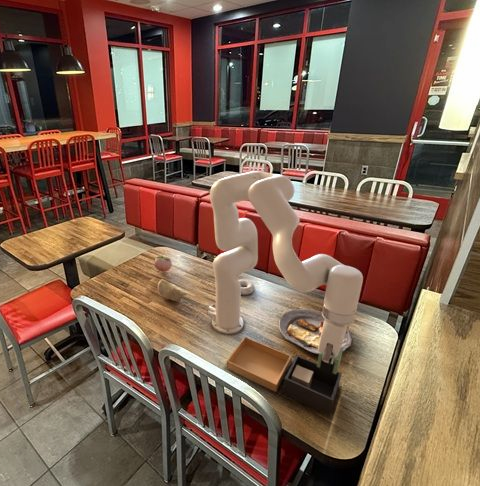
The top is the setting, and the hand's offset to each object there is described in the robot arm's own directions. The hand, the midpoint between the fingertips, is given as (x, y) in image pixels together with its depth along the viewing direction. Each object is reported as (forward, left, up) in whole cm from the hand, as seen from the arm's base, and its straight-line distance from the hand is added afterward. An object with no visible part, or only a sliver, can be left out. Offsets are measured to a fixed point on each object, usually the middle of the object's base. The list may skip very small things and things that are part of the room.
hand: (328, 364), depth 87 cm
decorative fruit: (-87, +33, -13) cm, 94 cm away
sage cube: (0, 0, 0) cm, 0 cm away
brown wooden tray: (-20, +1, -13) cm, 24 cm away
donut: (-44, +39, -13) cm, 60 cm away
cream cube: (-6, 0, -13) cm, 14 cm away
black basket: (-3, 0, -13) cm, 13 cm away
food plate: (-9, +26, -13) cm, 31 cm away
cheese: (-67, +17, -13) cm, 71 cm away
